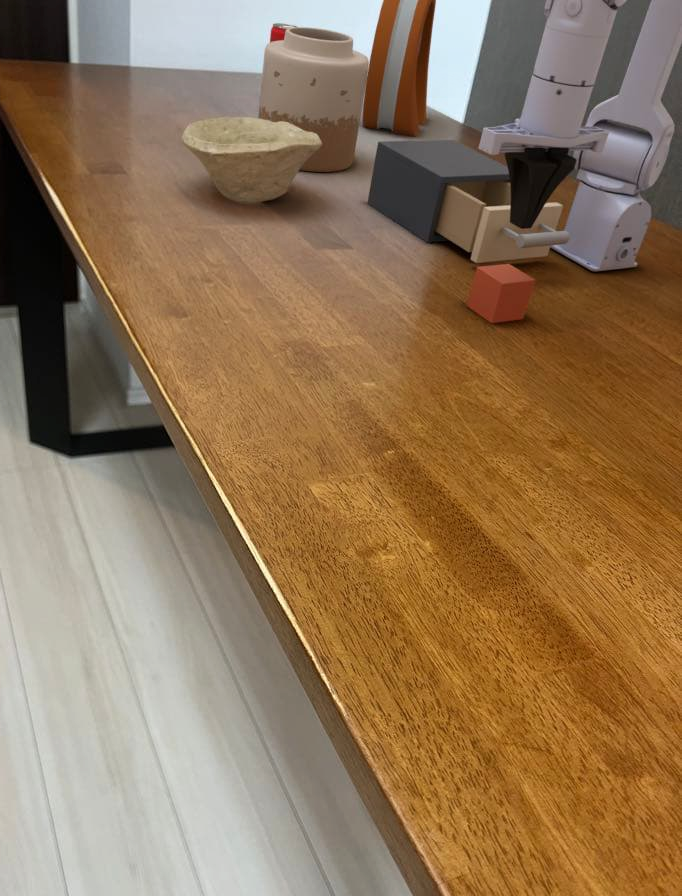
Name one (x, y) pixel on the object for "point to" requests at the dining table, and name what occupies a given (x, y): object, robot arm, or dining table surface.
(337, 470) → the dining table surface
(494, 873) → the dining table surface
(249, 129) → the bowl
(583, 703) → the dining table surface
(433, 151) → the cabinet
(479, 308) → the block
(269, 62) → the vase
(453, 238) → the drawer
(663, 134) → the robot arm
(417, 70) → the orange striped bag
